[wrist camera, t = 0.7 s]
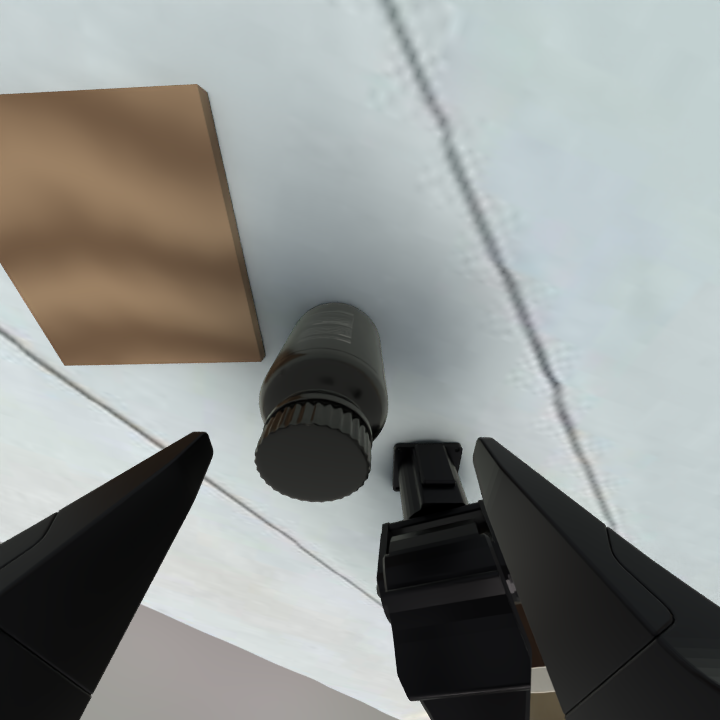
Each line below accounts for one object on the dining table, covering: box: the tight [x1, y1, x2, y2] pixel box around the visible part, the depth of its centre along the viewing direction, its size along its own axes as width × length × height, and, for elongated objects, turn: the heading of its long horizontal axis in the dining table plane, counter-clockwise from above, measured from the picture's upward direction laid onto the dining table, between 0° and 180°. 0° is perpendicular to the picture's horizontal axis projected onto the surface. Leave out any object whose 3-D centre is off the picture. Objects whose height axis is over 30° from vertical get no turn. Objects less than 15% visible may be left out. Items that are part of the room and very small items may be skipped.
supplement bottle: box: [255, 303, 388, 502], centre depth 16 cm, size 7×7×12 cm
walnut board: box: [0, 84, 265, 366], centre depth 18 cm, size 16×16×1 cm
